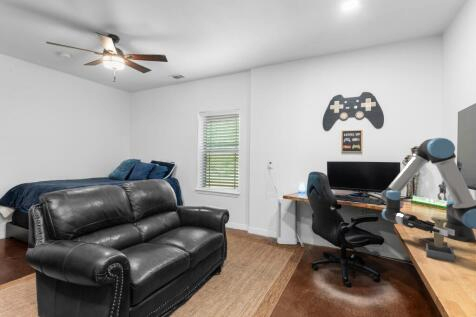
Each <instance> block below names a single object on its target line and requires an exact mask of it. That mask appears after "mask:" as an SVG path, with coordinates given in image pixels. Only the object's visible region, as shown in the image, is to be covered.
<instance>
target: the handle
mask: <svg viewBox="0 0 476 317" xmlns="http://www.w3.org/2000/svg"><path fill="white" fill-rule="evenodd" d="M430 220H431V221H433V223H435V227H437V228H440V229H443V227H444V224H446V222H447V221H448V219H446V218H445V217H440V216H431V217H430ZM433 238H434V243H435V247H438V248H442V247H443V242H444V240H445V236H444V235H441V234H438V233H435V232H433Z"/></svg>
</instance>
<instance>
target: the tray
mask: <svg viewBox="0 0 476 317" xmlns="http://www.w3.org/2000/svg"><path fill="white" fill-rule="evenodd" d="M425 252H426V253H425V254H426V255H425V256H426V258H431V259H434V260H435V259H436V260H440V261H444V262H445V261H446V262H450V263H455V262H456V261H455V259H456V256H455V255H456V254H455V252H454V250H453V247H449V246H448V247H445V246H443V247H442V248H438V247H435V245H434V244H428V243H426V246H425Z"/></svg>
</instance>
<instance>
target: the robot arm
mask: <svg viewBox="0 0 476 317" xmlns="http://www.w3.org/2000/svg"><path fill="white" fill-rule="evenodd" d="M455 151H456V146H455V144H454V143H453V141H451V140H450V139H448V138H444V137H435V138H430V139H426V140H424V141H422V142H421V143H420V145H419V146H418V147H417V148H416V150H415V151H414V152H413V153H412V158H410V160H408V162H407V163H406V165H405V166H403V168H402V170H400V172H399V173H398V174H397V175H396V177H395V178H394V179H393V181H391V183H390V184H389V185H388V186H387V187H386V188H385V190H383V191H382V192H381V193H380V197H381V199H382V201H384V202H386V203H385V208H383V209H382V212H381V216H382V218H383V219H384V220H386V221H388V222H391V223H395V224H399V225H401V226H402V227H407V228H410V229H417V230H421V231H423V232H429V233H430V234H433V233H434V232H435V233H438V234H441V235H444V238H448V239H451V240H455V241H461V242H475V241H476V235H475V232H474V230H476V199H474V198H473V196H472V194H471V191H470V190H469V188H468V186H467V184H466V181H465V179H464V177H463V175H462V173H461V172H460V169H459V167H458V165H457V163H456V161H455V160H456V158H457V155H456V154H455ZM428 163H431V164H432V165H435V166H436V167H437V170H438V173H439V174H440V176H441V179H442V181H443V182H444V185H445V187H446V189H447V191H448V193H449V196H450V198H451V200H450V199H449V200H447V201H446V204H445V209H446V214H445V215H446V216H445V217H446V219H448V221H447V222H446V223H445V225H444V226H443V229H440V228H437V227H435V222H434V221H433V222H432V221H429V220H423V219H419V218H418V217H417V216H416V215H414V214H411V213H407V212H404V211H401V202H402V201H401V200H402V199H401V198H402V197H401V195H402V194H401V193H402V191H403V190H404V189H405V188H406V187H407V185H408V184H409V183H410V182H411V181H412V179H413V178H414V177H416V175H417V173H419V171H421V169H422V168H423V167H424V165H425V164H428ZM473 229H474V230H473Z"/></svg>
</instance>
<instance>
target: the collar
mask: <svg viewBox="0 0 476 317" xmlns="http://www.w3.org/2000/svg"><path fill="white" fill-rule="evenodd" d="M426 243H428V244H434V245H435V243H434V236H433V237H432V236H430V237H423V238H421V237H419V238H418V244H419V245H422V246H424V247H426ZM448 245H449V242H447V241H444V242H443V246H445V247H449V246H448Z"/></svg>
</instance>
